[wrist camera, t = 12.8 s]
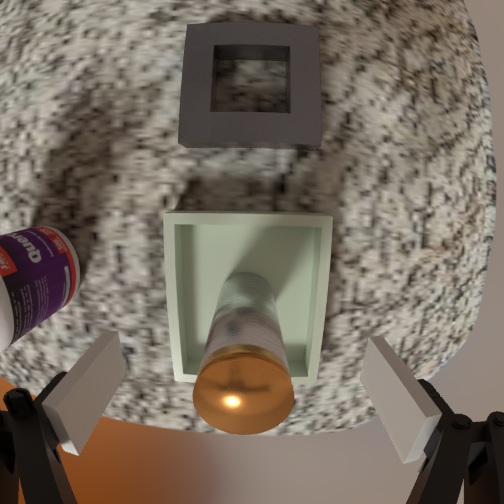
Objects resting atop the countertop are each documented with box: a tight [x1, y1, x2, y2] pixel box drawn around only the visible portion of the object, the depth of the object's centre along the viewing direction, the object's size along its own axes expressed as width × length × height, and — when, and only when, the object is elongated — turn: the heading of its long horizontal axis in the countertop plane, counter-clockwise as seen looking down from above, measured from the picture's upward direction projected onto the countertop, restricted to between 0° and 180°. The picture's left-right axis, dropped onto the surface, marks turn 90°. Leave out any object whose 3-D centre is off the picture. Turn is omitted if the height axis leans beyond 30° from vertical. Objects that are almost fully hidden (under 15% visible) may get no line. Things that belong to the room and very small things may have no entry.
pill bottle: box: [0, 226, 80, 352], centre depth 18 cm, size 8×8×14 cm
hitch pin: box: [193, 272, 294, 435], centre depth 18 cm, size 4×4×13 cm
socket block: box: [178, 22, 321, 151], centre depth 20 cm, size 10×10×3 cm
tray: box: [163, 210, 333, 385], centre depth 24 cm, size 14×12×3 cm
